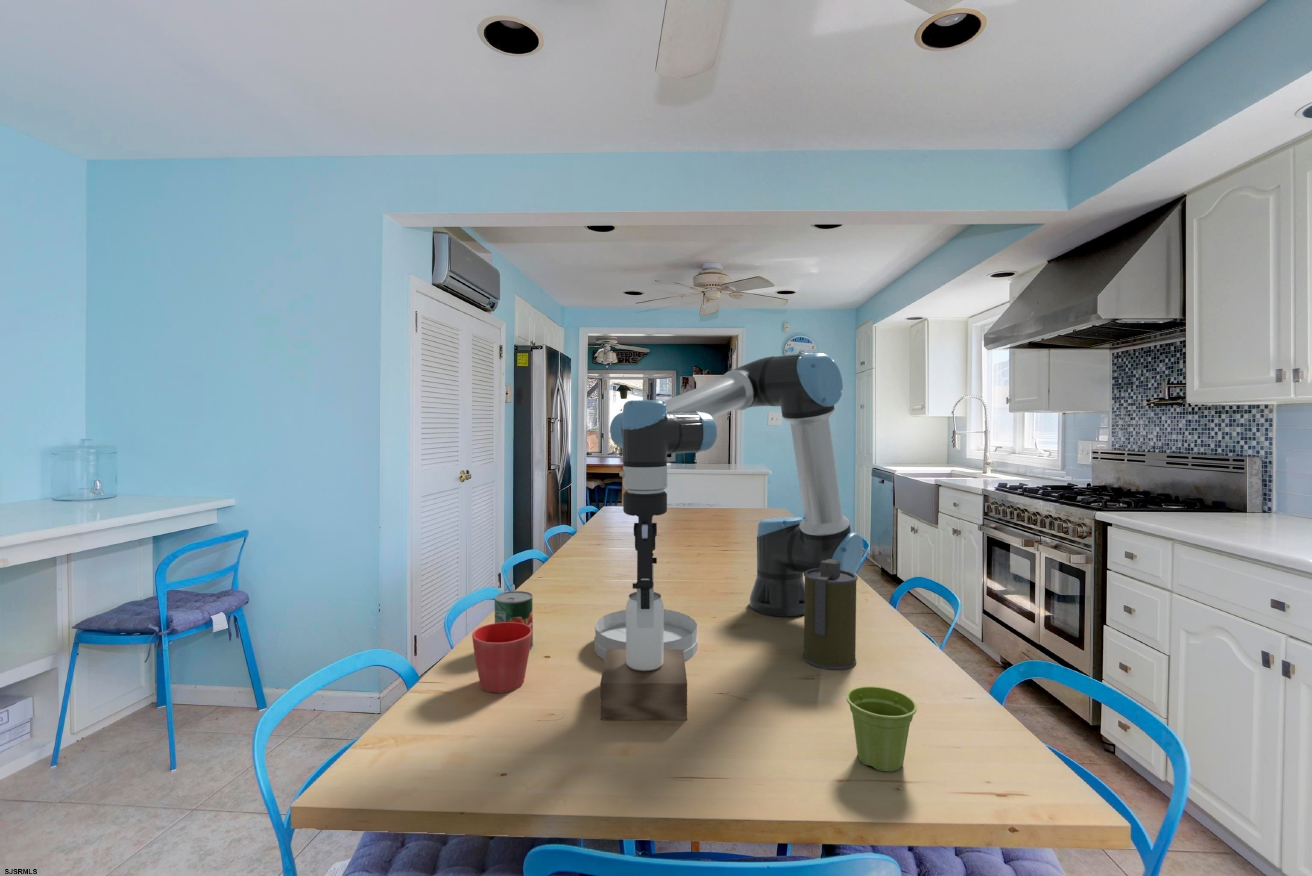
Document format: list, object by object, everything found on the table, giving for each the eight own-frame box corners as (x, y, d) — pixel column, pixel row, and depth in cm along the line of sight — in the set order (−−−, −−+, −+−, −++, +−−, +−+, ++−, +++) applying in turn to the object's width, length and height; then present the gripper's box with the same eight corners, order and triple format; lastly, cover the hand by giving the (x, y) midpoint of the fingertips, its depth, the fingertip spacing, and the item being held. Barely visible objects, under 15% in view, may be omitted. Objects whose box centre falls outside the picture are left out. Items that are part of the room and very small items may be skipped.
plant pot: (835, 743, 89) (836, 686, 89) (895, 740, 90) (896, 684, 90) (862, 781, 80) (863, 718, 80) (929, 778, 81) (930, 715, 80)
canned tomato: (505, 639, 130) (504, 589, 130) (538, 642, 129) (538, 592, 128) (487, 653, 123) (487, 600, 122) (523, 656, 121) (523, 603, 121)
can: (665, 658, 106) (665, 591, 105) (661, 673, 99) (661, 601, 99) (629, 656, 106) (629, 589, 106) (623, 671, 100) (623, 600, 100)
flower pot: (543, 675, 112) (543, 624, 112) (511, 701, 102) (511, 646, 101) (495, 667, 116) (495, 618, 115) (459, 692, 105) (459, 638, 105)
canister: (813, 645, 127) (814, 553, 127) (862, 657, 121) (864, 560, 121) (793, 662, 118) (795, 563, 118) (846, 676, 112) (847, 571, 112)
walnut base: (682, 681, 110) (683, 649, 110) (687, 720, 96) (687, 683, 96) (607, 681, 110) (607, 649, 110) (600, 719, 96) (600, 683, 96)
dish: (719, 647, 127) (719, 623, 127) (647, 679, 111) (647, 653, 111) (645, 622, 142) (645, 601, 142) (572, 647, 126) (572, 624, 126)
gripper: (626, 482, 114) (627, 591, 115) (618, 501, 89) (620, 640, 90) (665, 481, 114) (666, 590, 115) (668, 501, 89) (669, 640, 90)
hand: (645, 613), depth 102 cm, fingers open, 13 cm apart
